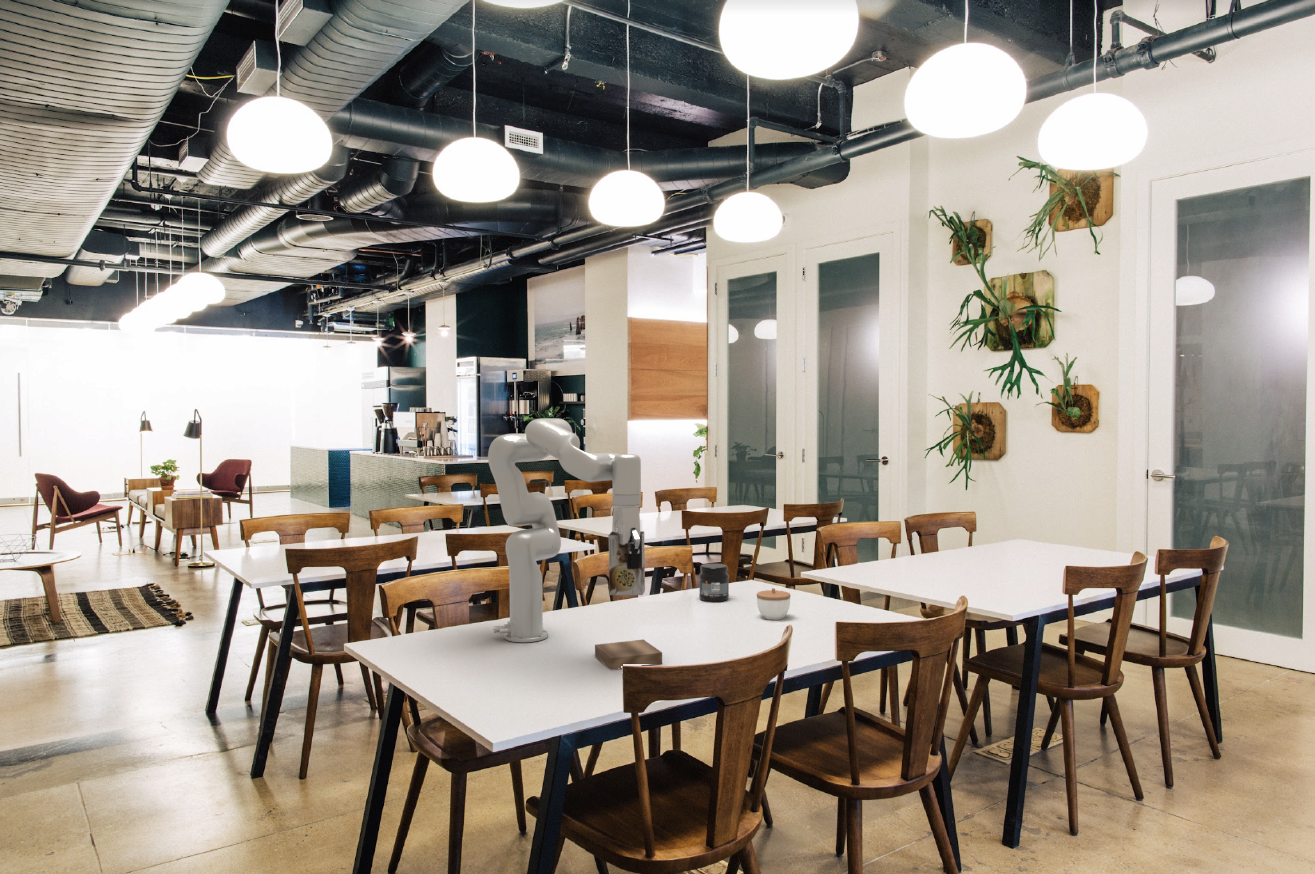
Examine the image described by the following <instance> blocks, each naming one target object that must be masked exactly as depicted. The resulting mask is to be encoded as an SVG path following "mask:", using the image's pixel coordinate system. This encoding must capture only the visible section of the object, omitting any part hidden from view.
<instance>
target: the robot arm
mask: <svg viewBox="0 0 1315 874" xmlns="http://www.w3.org/2000/svg"><path fill="white" fill-rule="evenodd" d="M580 446H581V442H580V438H579V436H578V435H577V434H576V433H574V432H573V429H572V426H571V425H570V424H569V422H568V421H566V420H564V419H562V418H557V417H556V418H554V417H553V418H551V417H550V418H548V417H547V418H545V417H543V418H535V419H533V420H531V421H530V422H529V423H528V424H527V425H526V426H525V430H524V433H506V434H502V435H499V436H497V437H495V438H494V439H493V441H491V443H490V445H489V448H488V451H487V460H488V465H489V468H490V472H491V474H492V476H493V479H494V482H495V485H496V488H497V489H496V490H497V493H498V494H497V495H498V499H499V502H500V507H501V511H502V516H503V518H504V520H505V522H506V524H507V525H509V526H512V527H523V526H532V528H528V529H527V528H526V529H520V530H517V531H515V532H513V533H511V534H510V535H509V536H507V537H508V538H507V539H506V542H505V554H506V559H507V563H508V564H507V565H508V575H509V576H508V578H509V579H508V580H509V620H508V621H506V622H507V623H505V624H504V625H495V626H493V633H494V634H497V633H499V634H500V635H502V634H504V639H505V640H506V641H509V642H513V643H532V642H539V641H543V640H545V639H547V638H548V636H549V631H548V630H546V629H543V626H544V623H543V621H544V619H543V616H544V615H543V611H544V610H543V608H544V605H543V574H542V571H541V569H540V567H539V565H538V563H537V561H542V560H549V559H551V558H554V557H556V556H558V554H559V552H560V550H561V547H562V546H561V545H562V538H561V533H560V530H559V526H558V522H557V516H556V513H555V509H554V505H553V502H552V500H551V499H550V498H549V496H547V495H546V494H544V493H542V492H538V491H536V492H529V491H528V487H527V483H526V479H525V477H524V475H523V473H522V472H521V470H520V469H519V468H518V467H517V466H516V463H525V462H527V463H529V462H538V461H542V460H544V459H545V458H548V457H550V456H551V457H553V458H554V459H557V460H558V461H559V464H560V466H561V467H562V469H563V470H564V471H565V472H566V473H568V474H569V475H571V476H573V477H575V478H577V479H579V480H581V481H584V482H586V483H587V482H588V483H593V482H602V481H603V482H604V481H605V482H606V481H612V507H613V512H612V522H611V523H612V524H611V525H612V527H611V532H615V533H617V534H618V535H619V536H620V544H621V545H625V543H626V545H627V550H628V554H627V569H638V568H639V548H640V547H639V546H640V545H639V544H640V531H641V522H640V521H641V518H640V508H641V506H642V493H641V492H642V474H641V473H642V470H641V469H642V468H641V467H642V463H641V460H642V459H641V457H640V455H638V454H636V453H635V454H634V453H629V454H628V453H624V454H623V453H616V452H593V453H589V452H586V451H584V450H581V449H580V448H581V447H580ZM630 536H632V538H633V540H634V542H629V540H630ZM630 546H632V547H630Z"/></svg>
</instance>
